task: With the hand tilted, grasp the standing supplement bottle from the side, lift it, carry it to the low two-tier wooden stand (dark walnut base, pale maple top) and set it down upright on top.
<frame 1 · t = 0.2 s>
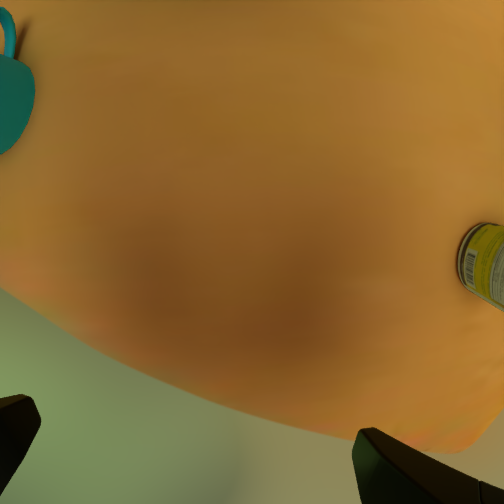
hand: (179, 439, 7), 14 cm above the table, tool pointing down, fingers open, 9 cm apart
mug: (8, 86, 18), on the table
supplement bottle: (479, 255, 21), on the table
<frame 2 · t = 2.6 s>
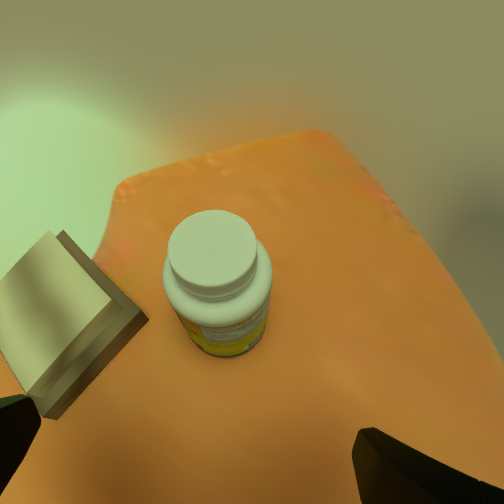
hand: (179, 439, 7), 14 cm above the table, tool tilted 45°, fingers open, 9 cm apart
stand: (60, 323, 22), on the table
supplement bottle: (226, 323, 23), on the table
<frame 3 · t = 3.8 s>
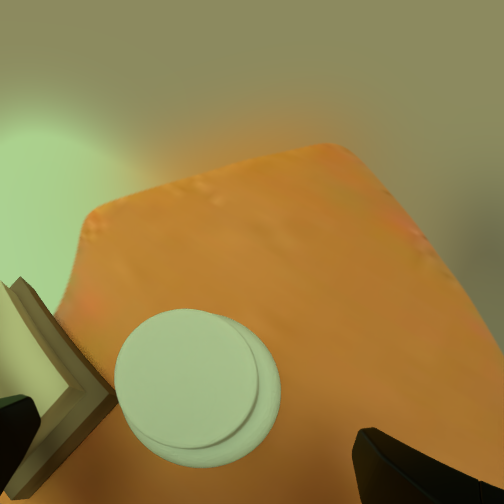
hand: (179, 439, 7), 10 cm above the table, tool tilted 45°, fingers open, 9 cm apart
stand: (22, 391, 16), on the table
supplement bottle: (218, 407, 17), on the table
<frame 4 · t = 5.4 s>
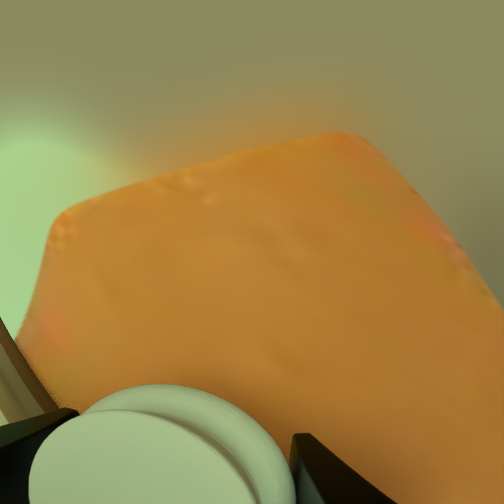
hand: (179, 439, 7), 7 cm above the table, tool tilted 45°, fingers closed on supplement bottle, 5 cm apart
supplement bottle: (209, 464, 12), on the table, touching gripper
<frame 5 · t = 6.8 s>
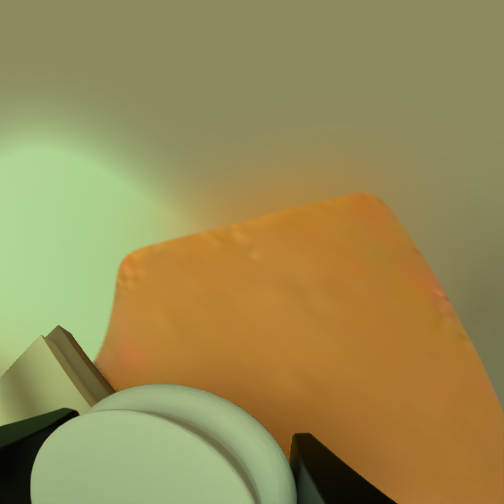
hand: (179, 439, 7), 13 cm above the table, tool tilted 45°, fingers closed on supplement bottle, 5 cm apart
stand: (64, 432, 17), on the table
supplement bottle: (212, 464, 12), point 6 cm above the table, touching gripper
when the fingers open (11 cm above the table, at t = 8.4 s): supplement bottle stays where it is, resting on stand.
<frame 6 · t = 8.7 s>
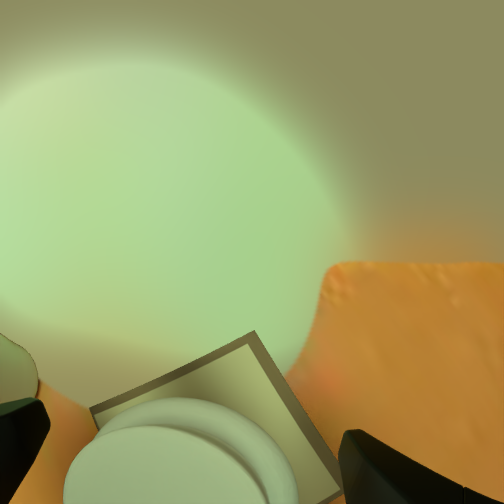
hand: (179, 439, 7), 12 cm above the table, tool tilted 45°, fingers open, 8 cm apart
stand: (218, 456, 16), on the table
supplement bottle: (215, 466, 13), point 4 cm above the table, touching stand
drinking glass: (17, 381, 18), on the table
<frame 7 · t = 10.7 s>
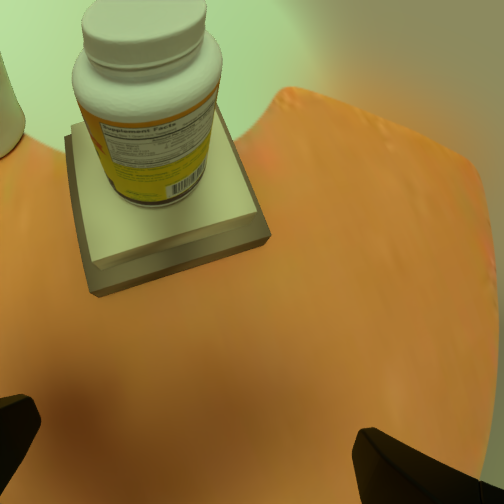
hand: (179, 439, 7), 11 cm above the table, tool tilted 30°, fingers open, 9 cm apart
stand: (157, 193, 21), on the table
supplement bottle: (156, 167, 17), point 4 cm above the table, touching stand
drinking glass: (2, 138, 19), on the table
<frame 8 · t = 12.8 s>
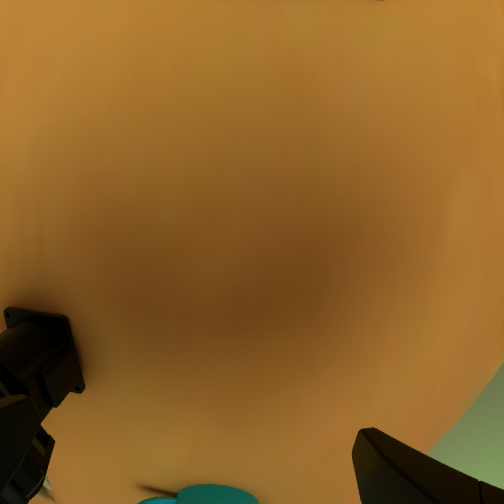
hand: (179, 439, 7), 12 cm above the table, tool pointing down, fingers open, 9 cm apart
mug: (198, 499, 24), on the table
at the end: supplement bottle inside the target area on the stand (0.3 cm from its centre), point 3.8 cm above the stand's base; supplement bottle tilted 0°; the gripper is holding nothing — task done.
